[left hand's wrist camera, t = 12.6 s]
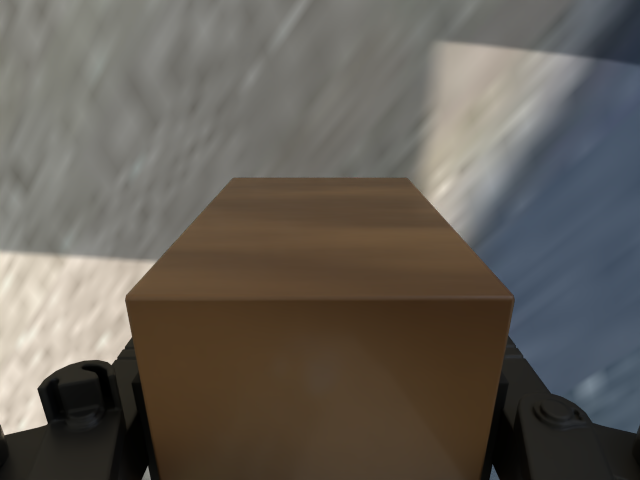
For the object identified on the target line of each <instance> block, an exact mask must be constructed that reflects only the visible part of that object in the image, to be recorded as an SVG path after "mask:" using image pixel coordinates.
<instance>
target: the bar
mask: <svg viewBox="0 0 640 480" xmlns="http://www.w3.org/2000/svg"><path fill="white" fill-rule="evenodd" d="M514 301H515V299H514V295H513V294H512V293H511V292H510V291H509V290H508V289H507V288H506V286H505V285H504V284H503V283H502V282H501V281H500V280H499V279H498V278H497V277H496V275H495V274H494V273H493V272H492V271H491V270H490V269H489V268H488V267H487V265H486V264H485V263H484V262H483V261H482V260H481V259H480V258H479V257H478V255H477V254H476V253H475V252H474V251H473V250H472V249H471V248H470V247H469V246H468V244H467V243H466V242H465V241H464V240H463V239H462V238H461V237H460V236H459V234H458V233H457V232H456V231H455V230H454V229H453V228H452V227H451V226H450V224H449V223H448V222H447V221H446V220H445V219H444V218H443V217H442V216H441V215H440V213H439V212H438V211H437V210H436V209H435V208H434V207H433V206H432V205H431V203H430V202H429V201H428V200H427V199H426V198H425V197H424V196H423V195H422V193H421V192H420V191H419V190H418V189H417V188H416V187H415V186H414V185H413V184H412V182H411V181H410V180H409V179H408V178H233V179H232V180H231V181H230V182H229V183H228V184H227V185H226V186H225V187H224V188H223V190H222V191H221V192H220V193H219V194H218V195H217V196H216V197H215V198H214V199H213V201H212V202H211V203H210V204H209V205H208V206H207V207H206V208H205V209H204V210H203V212H202V213H201V214H200V215H199V216H198V217H197V218H196V219H195V220H194V221H193V223H192V224H191V225H190V226H189V227H188V228H187V229H186V230H185V231H184V232H183V233H182V235H181V236H180V237H179V238H178V239H177V240H176V241H175V242H174V243H173V244H172V246H171V247H170V248H169V249H168V250H167V251H166V252H165V253H164V254H163V255H162V257H161V258H160V259H159V260H158V261H157V262H156V263H155V264H154V265H153V266H152V268H151V269H150V270H149V271H148V272H147V273H146V274H145V275H144V276H143V277H142V279H141V280H140V281H139V282H138V283H137V284H136V285H135V286H134V287H133V288H132V290H131V291H130V292H129V293H128V294H127V295H126V298H125V302H126V307H127V312H128V317H129V323H130V328H131V333H132V338H133V344H134V349H135V354H136V359H137V365H138V370H139V375H140V380H141V386H142V391H143V396H144V401H145V407H146V412H147V417H148V422H149V427H150V433H151V438H152V443H153V448H154V454H155V459H156V464H157V469H158V475H159V480H481V475H482V469H483V464H484V459H485V454H486V448H487V443H488V438H489V433H490V427H491V422H492V417H493V412H494V406H495V401H496V396H497V391H498V385H499V380H500V375H501V370H502V364H503V359H504V354H505V349H506V343H507V338H508V333H509V328H510V322H511V317H512V312H513V307H514Z"/></svg>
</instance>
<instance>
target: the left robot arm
mask: <svg viewBox="0 0 640 480" xmlns="http://www.w3.org/2000/svg"><path fill="white" fill-rule="evenodd" d="M38 393H39V396H40V399H41V402H42V406H43V409H44V412H45V415H46V419H47V422H48V424H47V425H45V426H42V427H38V428H34V429H30V430H26V431H21V432H17V433H13V434H8V435H4V433H3V431H2V428H1V425H0V480H142V477H143V475H144V473H145V471H146V468H147V466H148V467H149V472H150V477H151V480H159V475H158V469H157V464H156V459H155V454H154V448H153V443H152V438H151V433H150V427H149V422H148V417H147V412H146V407H145V401H144V396H143V391H142V386H141V380H140V375H139V370H138V365H137V359H136V354H135V349H134V344H133V338H131V339H130V341H129V342H128V343H127V345H126V346H125V349H123V350H122V352H121V353H120V354H119V356H118V357H117V360H115V361H114V363H113V364H112V365H110V364H109V363H108V362H104V361H100V360H89V361H82V362H78V363H74V364H70V365H68V366H66V367H64V368H62V369H59V370H57V371H55V372H54V373H53V374H51V375H50V376H49V377H47V378H46V379H45V380H44V381H43V382H42V383H41V385H40V386H39V387H38ZM492 464H493V466H494V468H495V470H496V472H497V475H498V477H499V479H500V480H640V426H639V429H638V432H637V434H635V433H631V432H627V431H622V430H618V429H614V428H609V427H605V426H601V425H598V424H594V423H592V421H591V420H590V418H589V417H588V415H587V414H586V413H585V412H584V411H583V410H582V409H581V408H579V407H578V406H577V405H576V404H575V403H573V402H571V401H569V400H567V399H565V398H563V397H561V396H558V395H554V394H551V393H550V392H549V390H548V389H547V387H546V386H545V385H544V383H543V382H542V381H541V379H540V378H539V377H538V375H537V374H536V373H535V371H534V370H533V368H532V367H531V366H530V364H529V363H528V362H527V360H526V359H525V358H523V355H522V353H521V352H520V351H519V349H518V348H516V345H515V344H514V343H513V341H512V340H511V339H510V337H509V336H508V338H507V343H506V349H505V354H504V359H503V364H502V370H501V375H500V380H499V385H498V391H497V396H496V401H495V406H494V412H493V417H492V422H491V427H490V433H489V438H488V443H487V448H486V454H485V459H484V464H483V469H482V475H481V480H489V479H490V474H491V469H492Z"/></svg>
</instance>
